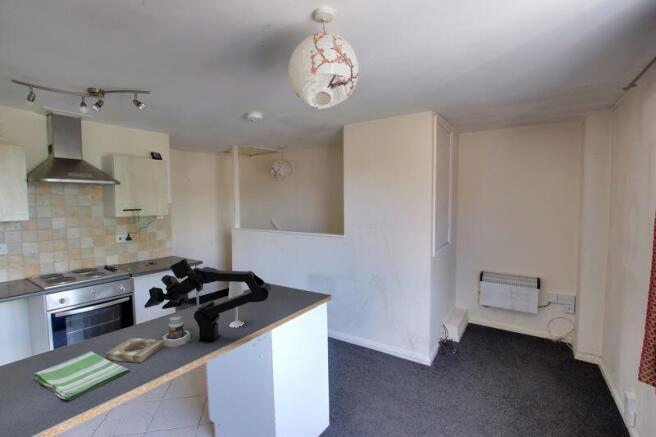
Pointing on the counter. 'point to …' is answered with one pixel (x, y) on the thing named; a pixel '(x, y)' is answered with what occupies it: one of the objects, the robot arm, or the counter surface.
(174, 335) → the pill bottle
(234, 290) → the champagne flute
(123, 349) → the socket plate
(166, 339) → the octagonal ring
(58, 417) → the counter surface
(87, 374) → the dish towel
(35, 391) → the counter surface
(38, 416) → the counter surface
